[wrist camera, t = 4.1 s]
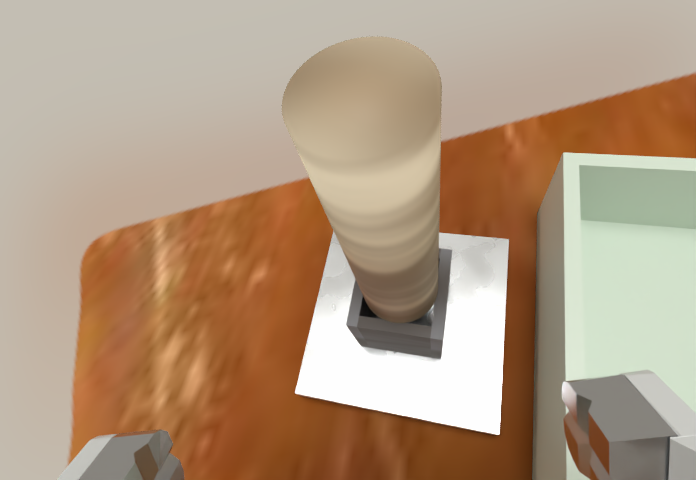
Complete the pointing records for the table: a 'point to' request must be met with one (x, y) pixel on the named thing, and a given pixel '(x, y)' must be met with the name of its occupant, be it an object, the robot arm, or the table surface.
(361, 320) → the strut
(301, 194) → the table surface
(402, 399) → the stud plate
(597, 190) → the bin
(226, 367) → the table surface
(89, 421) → the table surface
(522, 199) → the table surface
